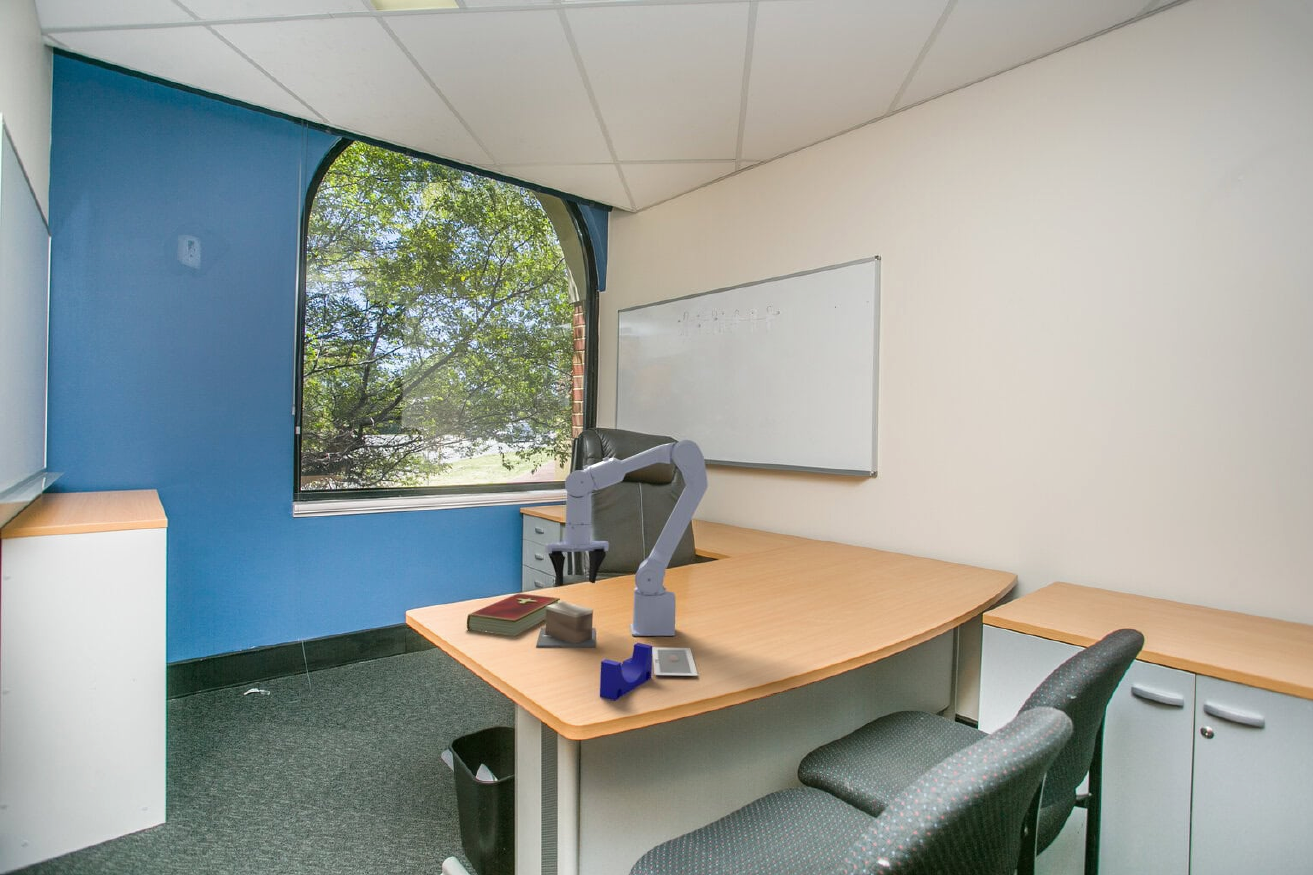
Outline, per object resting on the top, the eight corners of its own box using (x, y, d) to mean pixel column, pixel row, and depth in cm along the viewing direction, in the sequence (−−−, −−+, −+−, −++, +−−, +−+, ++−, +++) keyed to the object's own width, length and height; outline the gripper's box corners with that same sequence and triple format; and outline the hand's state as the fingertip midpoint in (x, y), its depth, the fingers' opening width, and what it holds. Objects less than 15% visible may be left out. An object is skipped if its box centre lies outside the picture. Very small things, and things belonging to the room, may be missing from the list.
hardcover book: (466, 631, 137) (467, 612, 137) (516, 608, 157) (516, 591, 157) (514, 638, 133) (515, 619, 134) (559, 614, 153) (560, 596, 153)
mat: (595, 629, 140) (595, 627, 140) (595, 647, 128) (595, 644, 128) (540, 629, 139) (540, 627, 139) (536, 647, 127) (536, 644, 127)
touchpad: (689, 653, 128) (690, 642, 128) (697, 681, 113) (698, 669, 113) (651, 652, 128) (651, 641, 128) (654, 680, 113) (654, 668, 113)
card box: (562, 628, 138) (563, 601, 138) (592, 638, 133) (593, 609, 133) (545, 634, 134) (545, 605, 134) (574, 644, 129) (575, 614, 129)
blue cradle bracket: (630, 673, 115) (631, 640, 115) (651, 678, 113) (652, 645, 113) (592, 695, 105) (593, 659, 105) (614, 701, 102) (616, 665, 102)
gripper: (552, 526, 135) (550, 589, 135) (614, 524, 141) (612, 584, 141) (543, 522, 141) (541, 582, 141) (603, 520, 148) (601, 578, 148)
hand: (576, 583), depth 142 cm, fingers open, 7 cm apart
